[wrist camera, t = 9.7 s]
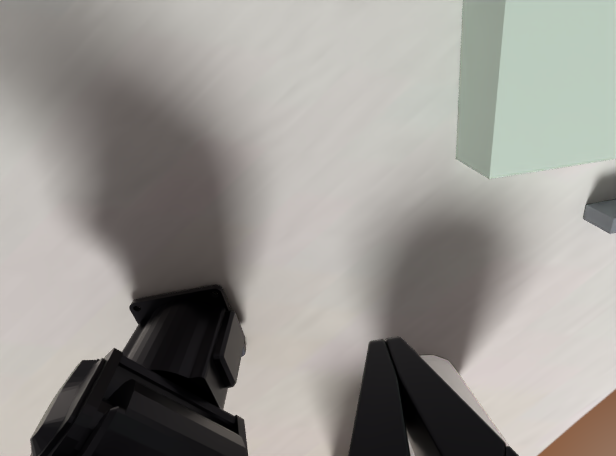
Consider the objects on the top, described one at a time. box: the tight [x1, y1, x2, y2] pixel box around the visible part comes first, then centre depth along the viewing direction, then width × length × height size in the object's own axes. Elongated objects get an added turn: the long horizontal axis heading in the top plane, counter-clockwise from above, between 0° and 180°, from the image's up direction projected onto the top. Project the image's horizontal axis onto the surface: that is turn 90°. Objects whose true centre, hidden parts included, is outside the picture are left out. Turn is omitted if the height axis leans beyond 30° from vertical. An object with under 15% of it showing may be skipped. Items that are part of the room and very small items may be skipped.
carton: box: [456, 0, 616, 179], centre depth 15 cm, size 10×9×4 cm
